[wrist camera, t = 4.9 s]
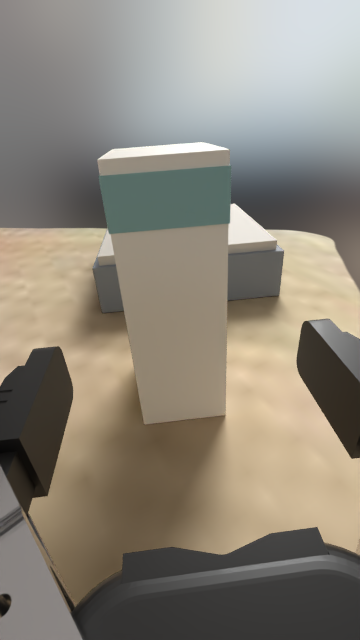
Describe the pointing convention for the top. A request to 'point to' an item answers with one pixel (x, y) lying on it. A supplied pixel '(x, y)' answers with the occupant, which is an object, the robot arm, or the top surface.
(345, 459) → the top surface
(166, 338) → the carton
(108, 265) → the podium
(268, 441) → the top surface
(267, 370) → the top surface
